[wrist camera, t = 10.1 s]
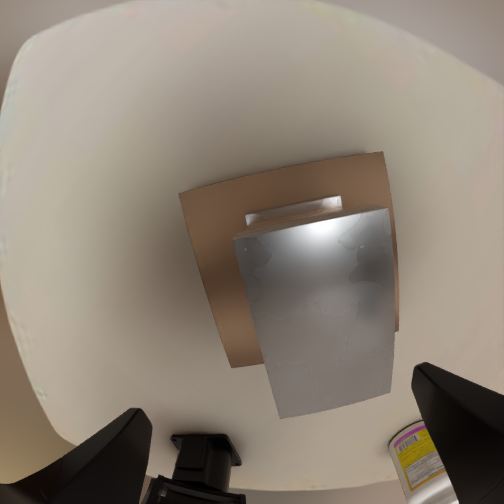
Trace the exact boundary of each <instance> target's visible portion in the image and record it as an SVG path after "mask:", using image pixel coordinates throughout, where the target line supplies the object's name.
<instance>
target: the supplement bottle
mask: <svg viewBox="0 0 504 504" xmlns="http://www.w3.org/2000/svg"><path fill="white" fill-rule="evenodd" d="M389 452H390V455H391V458H392V460H393V463H394V466H395V468H396V471H397V474H398V477H399V479H400V482H401V485H402V488H403V491H404V494H405V497H406V500H407V503H408V504H458V503H459V502H458V499H457V497H456V494H455V491H454V489H453V487H452V484H451V482H450V479H449V477H448V475H447V472H446V470H445V468H444V465H443V463H442V461H441V459H440V456H439V454H438V452H437V450H436V448H435V446H434V443H433V441H432V439H431V437H430V435H429V433H428V431H427V429H426V427H425V424H424V422H423V421H421V422H418V423H415V424H413V425H411V426H409V427H407V428H406V429H404V430H403V431H401V432H400V433H399V434H398V435H397V436H396V437H395V438H394V439H393V440H392V442H391V443H390V445H389Z"/></svg>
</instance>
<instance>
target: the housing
mask: <svg viewBox="0 0 504 504" xmlns="http://www.w3.org/2000/svg"><path fill="white" fill-rule="evenodd" d="M245 217H246V221H247V228H246V230H245V231H242V232H238V233H236V234H235V236H234V238H233V240H232V241H233V245H234V249H235V253H236V257H237V260H238V264H239V268H240V272H241V276H242V280H243V284H244V288H245V292H246V295H247V299H248V303H249V307H250V311H251V314H252V318H253V322H254V326H255V330H256V333H257V337H258V341H259V345H260V348H261V352H262V356H263V359H264V363H265V367H266V370H267V374H268V378H269V381H270V385H271V388H272V392H273V396H274V399H275V403H276V406H277V410H278V413H279V417H280V419H282V418H289V417H295V416H300V415H306V414H311V413H316V412H321V411H325V410H330V409H334V408H338V407H342V406H346V405H350V404H354V403H357V402H361V401H364V400H368V399H371V398H374V397H377V396H381V395H384V394H387V393H390V390H391V381H392V370H393V358H394V340H395V277H394V258H393V245H392V234H391V225H390V216H389V209H388V208H386V207H383V206H379V205H375V204H373V205H368V206H363V207H358V208H353V209H351V208H348V207H345V206H342V202H341V197H340V196H339V195H330V196H325V197H319V198H314V199H309V200H304V201H299V202H294V203H290V204H285V205H280V206H275V207H271V208H266V209H262V210H257V211H253V212H248V213H246V215H245Z"/></svg>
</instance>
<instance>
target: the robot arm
mask: <svg viewBox="0 0 504 504" xmlns="http://www.w3.org/2000/svg"><path fill="white" fill-rule="evenodd" d="M411 387H412V391H413V394H414V396H415V399H416V402H417V405H418V407H419V410H420V413H421V416H422V419H423V422H424V424H425V427H426V429H427V431H428V433H429V435H430V437H431V439H432V441H433V443H434V446H435V448H436V450H437V452H438V454H439V456H440V459H441V461H442V463H443V465H444V468H445V470H446V472H447V475H448V477H449V479H450V482H451V484H452V487H453V489H454V491H455V494H456V497H457V499H458V502H459V504H504V395H502V394H499V393H497V392H495V391H492V390H490V389H487V388H485V387H483V386H480V385H478V384H476V383H473V382H471V381H469V380H466V379H464V378H462V377H460V376H457V375H455V374H453V373H451V372H448V371H446V370H444V369H441V368H439V367H437V366H435V365H433V364H430V363H428V362H423V363H421V364H418V365H416V366H415V367H414V370H413V377H412V383H411ZM151 436H152V424H151V422H150V420H149V419H148V417H147V416H146V414H145V413H144V411H143V410H142V409H141V408H130V409H128V410H127V411H126V412H124V413H123V414H122V415H120V416H119V417H118V418H116V419H115V420H113V421H112V422H111V423H109V424H108V425H107V426H105V427H104V428H103V429H101V430H100V431H98V432H97V433H96V434H94V435H93V436H91V437H90V438H89V439H87V440H86V441H84V442H83V443H81V444H80V445H79V446H77V447H76V448H74V449H73V450H71V451H70V452H68V453H67V454H65V455H64V456H63V457H61V458H59V459H58V460H56V461H55V462H53V463H52V464H50V465H48V466H47V467H45V468H43V469H42V470H40V471H38V472H36V473H34V474H32V475H30V476H28V477H26V478H24V479H22V480H19V481H17V482H15V483H11V484H0V504H139V500H140V495H141V491H142V487H143V482H144V478H145V474H146V470H147V465H148V459H149V452H150V444H151ZM171 441H172V442H173V444H174V445H175V446H176V448H177V449H178V450H179V453H178V456H177V460H176V463H175V469H174V472H173V476H172V479H169V478H166V477H164V476H162V475H158V478H152V479H151V482H150V484H149V487H148V490H147V493H146V494H145V496H144V499H143V501H142V503H141V504H246V497H245V494H233V493H228V489H229V481H230V473H231V466H241V465H242V461H241V459H240V458H239V456H238V454H237V452H236V451H235V449H234V447H233V445H232V443H231V442H230V440H229V438H228V436H226V435H172V436H171ZM161 494H162V495H165V497H164V496H161Z"/></svg>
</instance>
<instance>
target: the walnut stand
mask: <svg viewBox="0 0 504 504" xmlns="http://www.w3.org/2000/svg"><path fill="white" fill-rule="evenodd" d="M178 194H179V198H180V202H181V206H182V209H183V213H184V217H185V221H186V225H187V228H188V232H189V236H190V239H191V243H192V246H193V250H194V253H195V257H196V260H197V264H198V267H199V271H200V274H201V277H202V281H203V284H204V287H205V291H206V294H207V297H208V300H209V303H210V306H211V310H212V313H213V316H214V319H215V322H216V325H217V328H218V331H219V334H220V337H221V340H222V343H223V346H224V349H225V352H226V354H227V357H228V360H229V363H230V366H231V368H237V367H244V366H251V365H257V364H264V359H263V356H262V352H261V348H260V345H259V341H258V337H257V333H256V330H255V326H254V322H253V318H252V314H251V311H250V307H249V303H248V299H247V295H246V292H245V288H244V284H243V280H242V276H241V272H240V268H239V264H238V260H237V257H236V253H235V249H234V245H233V241H232V240H233V238H234V236H235V234H236V233H238V232H242V231H245V230H246V228H247V221H246V217H245V215H246V213H248V212H253V211H257V210H262V209H266V208H271V207H275V206H280V205H285V204H290V203H294V202H299V201H304V200H309V199H314V198H319V197H325V196H330V195H339V196H340V197H341V202H342V206H345V207H348V208H351V209H353V208H358V207H363V206H368V205H373V204H375V205H379V206H383V207H386V208H388V209H389V216H390V225H391V234H392V245H393V258H394V277H395V332H397V331H399V277H398V257H397V244H396V233H395V223H394V215H393V207H392V200H391V193H390V187H389V181H388V175H387V170H386V164H385V159H384V154H383V151H382V152H374V153H366V154H359V155H352V156H346V157H339V158H333V159H327V160H321V161H316V162H310V163H305V164H299V165H294V166H289V167H284V168H279V169H275V170H270V171H265V172H261V173H256V174H252V175H248V176H243V177H239V178H235V179H231V180H227V181H223V182H219V183H215V184H211V185H207V186H204V187H200V188H196V189H193V190H189V191H185V192H182V193H178Z"/></svg>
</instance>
